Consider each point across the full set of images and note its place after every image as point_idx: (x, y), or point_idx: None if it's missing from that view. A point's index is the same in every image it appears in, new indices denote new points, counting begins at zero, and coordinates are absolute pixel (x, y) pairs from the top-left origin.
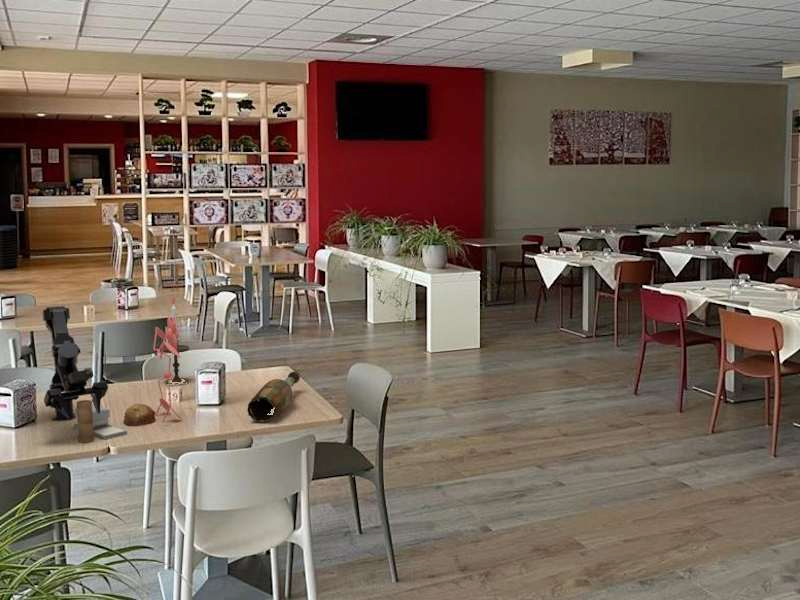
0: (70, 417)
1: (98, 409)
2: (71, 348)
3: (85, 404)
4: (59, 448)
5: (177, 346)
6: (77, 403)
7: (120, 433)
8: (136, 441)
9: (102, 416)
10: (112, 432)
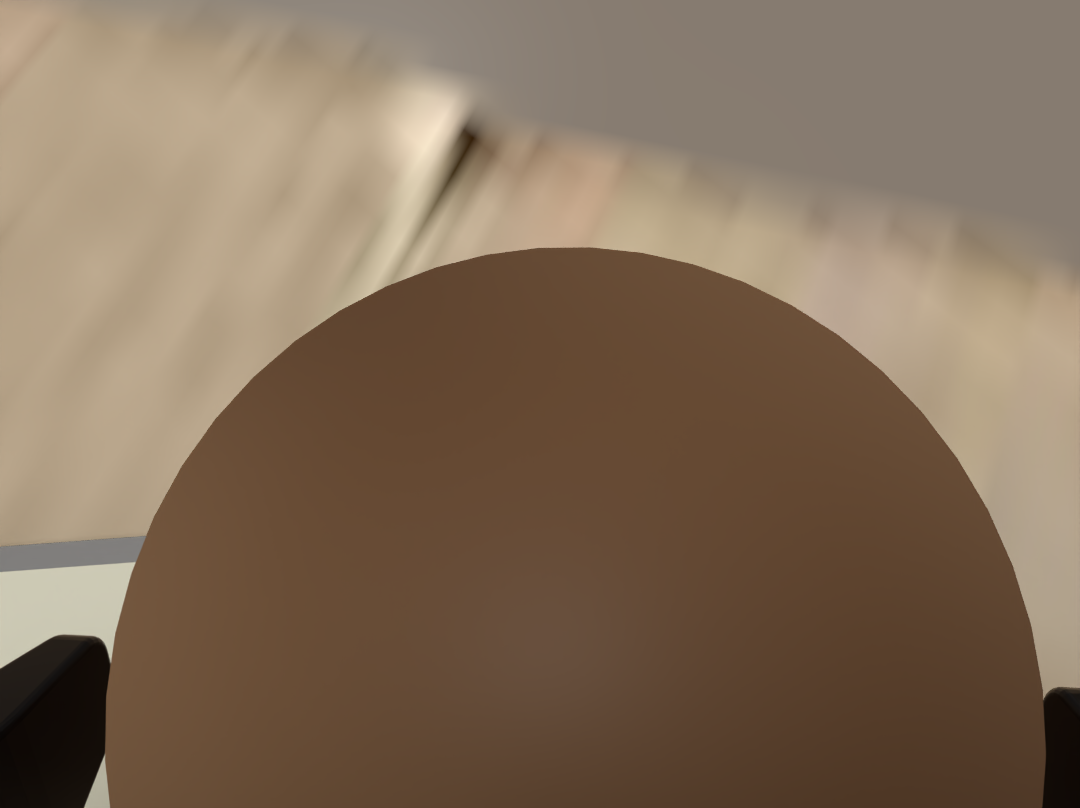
0: (1052, 690)
1: (35, 681)
2: None
3: (657, 281)
4: (1038, 598)
5: None
6: (1023, 606)
7: (10, 550)
8: (67, 157)
9: None
10: (92, 626)
